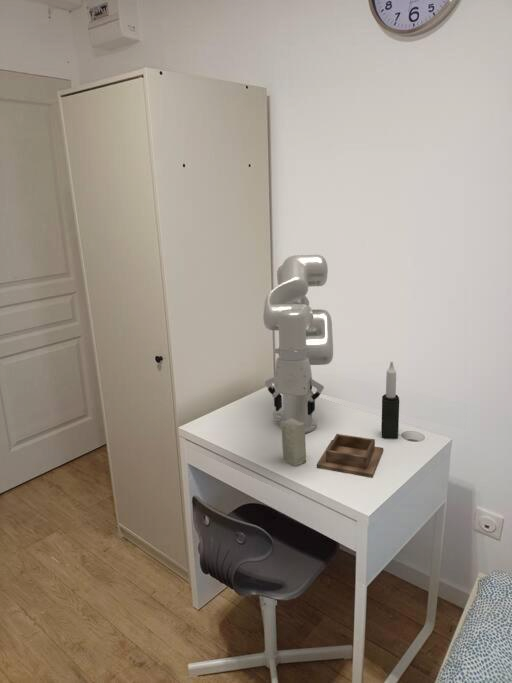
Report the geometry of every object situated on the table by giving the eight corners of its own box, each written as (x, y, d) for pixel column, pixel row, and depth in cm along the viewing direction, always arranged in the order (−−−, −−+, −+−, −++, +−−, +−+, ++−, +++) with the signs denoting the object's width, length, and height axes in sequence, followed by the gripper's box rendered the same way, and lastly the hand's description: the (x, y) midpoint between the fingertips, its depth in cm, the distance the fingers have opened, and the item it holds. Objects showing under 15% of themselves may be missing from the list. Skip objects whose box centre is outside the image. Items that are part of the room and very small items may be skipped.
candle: (398, 439, 158) (400, 364, 151) (381, 438, 159) (383, 363, 152) (397, 432, 163) (399, 358, 156) (381, 431, 164) (382, 358, 157)
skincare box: (306, 462, 147) (306, 424, 144) (295, 467, 145) (294, 428, 141) (293, 454, 152) (292, 417, 149) (281, 458, 150) (280, 421, 146)
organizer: (316, 467, 144) (316, 453, 143) (331, 442, 158) (331, 429, 157) (372, 477, 137) (372, 462, 136) (383, 450, 151) (383, 437, 150)
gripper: (259, 355, 139) (261, 412, 144) (318, 360, 132) (319, 420, 137) (269, 348, 146) (271, 403, 150) (326, 352, 139) (327, 410, 143)
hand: (294, 411), depth 143 cm, fingers open, 9 cm apart
